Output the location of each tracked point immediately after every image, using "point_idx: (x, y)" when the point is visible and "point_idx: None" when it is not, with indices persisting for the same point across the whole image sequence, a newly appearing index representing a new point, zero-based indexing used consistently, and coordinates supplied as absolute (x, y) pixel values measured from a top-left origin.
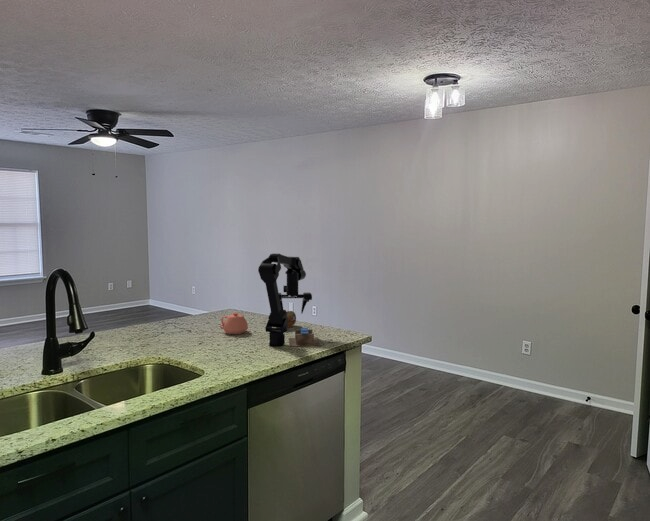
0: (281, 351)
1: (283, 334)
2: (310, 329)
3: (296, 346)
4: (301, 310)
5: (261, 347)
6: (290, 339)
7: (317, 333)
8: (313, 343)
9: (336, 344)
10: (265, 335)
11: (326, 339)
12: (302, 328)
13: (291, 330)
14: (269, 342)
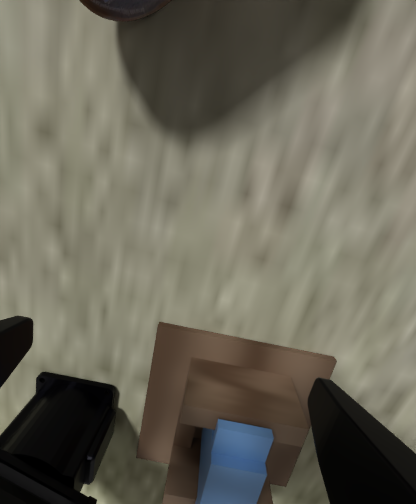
0: (91, 491)
1: (85, 472)
2: (297, 428)
3: (168, 460)
4: (332, 431)
5: (3, 420)
6: (161, 357)
7: (391, 243)
8: None
9: None
10: (18, 190)
11: (371, 390)
12: (220, 487)
13: (234, 82)
14: (37, 384)
